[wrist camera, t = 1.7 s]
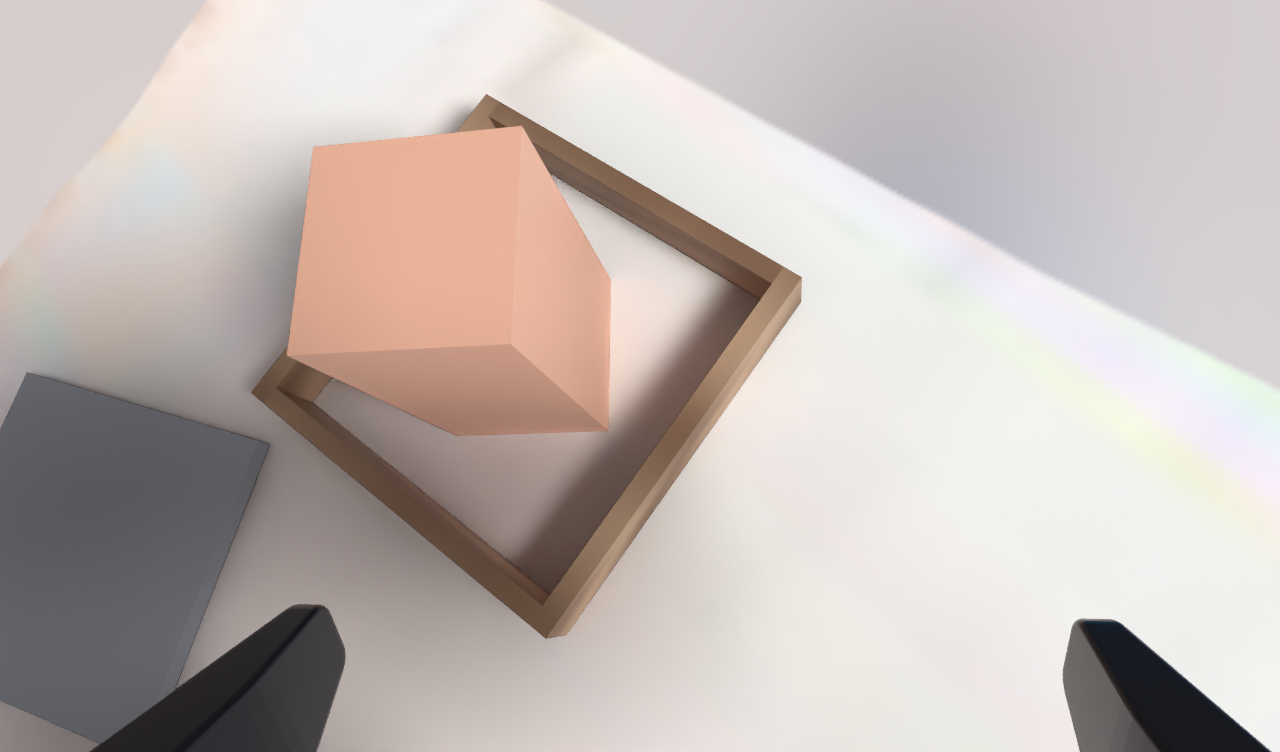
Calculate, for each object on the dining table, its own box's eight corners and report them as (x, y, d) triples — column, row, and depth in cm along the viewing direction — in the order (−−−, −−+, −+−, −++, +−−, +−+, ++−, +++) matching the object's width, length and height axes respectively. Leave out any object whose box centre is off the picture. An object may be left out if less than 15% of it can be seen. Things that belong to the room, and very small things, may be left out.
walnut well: (566, 634, 23) (545, 638, 21) (289, 407, 27) (251, 392, 25) (800, 301, 24) (801, 277, 23) (506, 127, 28) (486, 94, 26)
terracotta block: (608, 430, 25) (510, 343, 16) (456, 435, 25) (287, 355, 17) (611, 280, 26) (521, 125, 17) (466, 289, 27) (313, 146, 18)
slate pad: (148, 754, 25) (133, 758, 24) (-86, 653, 27) (-105, 655, 26) (270, 444, 27) (258, 440, 26) (42, 376, 29) (27, 372, 28)
